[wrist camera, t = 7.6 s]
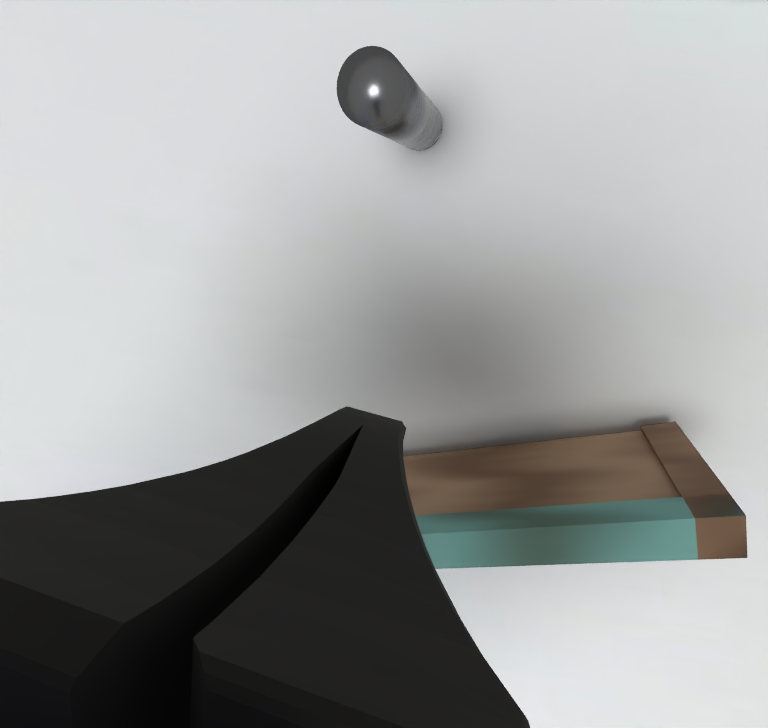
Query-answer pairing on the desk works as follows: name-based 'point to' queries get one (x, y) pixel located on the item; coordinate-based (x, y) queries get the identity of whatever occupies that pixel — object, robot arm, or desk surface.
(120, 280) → the desk surface
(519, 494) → the open box
